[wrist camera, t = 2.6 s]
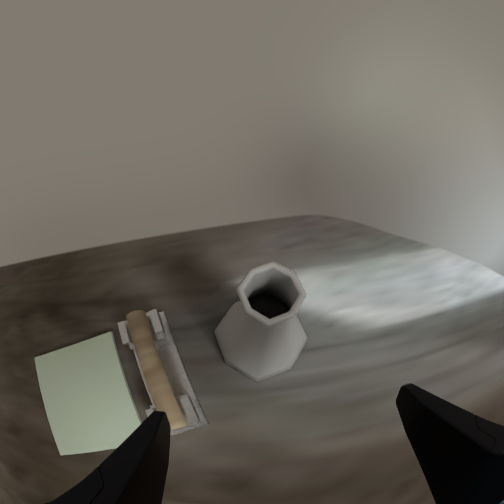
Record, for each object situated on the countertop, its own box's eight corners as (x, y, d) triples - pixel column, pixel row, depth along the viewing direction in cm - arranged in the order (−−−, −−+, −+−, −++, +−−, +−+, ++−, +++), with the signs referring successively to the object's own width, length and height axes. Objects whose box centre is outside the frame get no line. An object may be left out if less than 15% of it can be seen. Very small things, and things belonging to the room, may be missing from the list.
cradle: (208, 423, 18) (203, 427, 15) (168, 436, 17) (156, 440, 14) (165, 313, 22) (154, 301, 20) (128, 326, 21) (114, 316, 19)
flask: (199, 330, 22) (167, 280, 13) (265, 280, 24) (276, 207, 16) (255, 398, 19) (263, 399, 10) (321, 340, 21) (371, 298, 13)
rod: (189, 424, 16) (184, 426, 14) (169, 430, 15) (163, 432, 14) (148, 314, 20) (141, 307, 18) (130, 321, 20) (122, 314, 18)
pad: (149, 440, 17) (148, 441, 16) (62, 454, 14) (60, 455, 14) (112, 332, 21) (111, 331, 21) (36, 358, 19) (34, 357, 18)
